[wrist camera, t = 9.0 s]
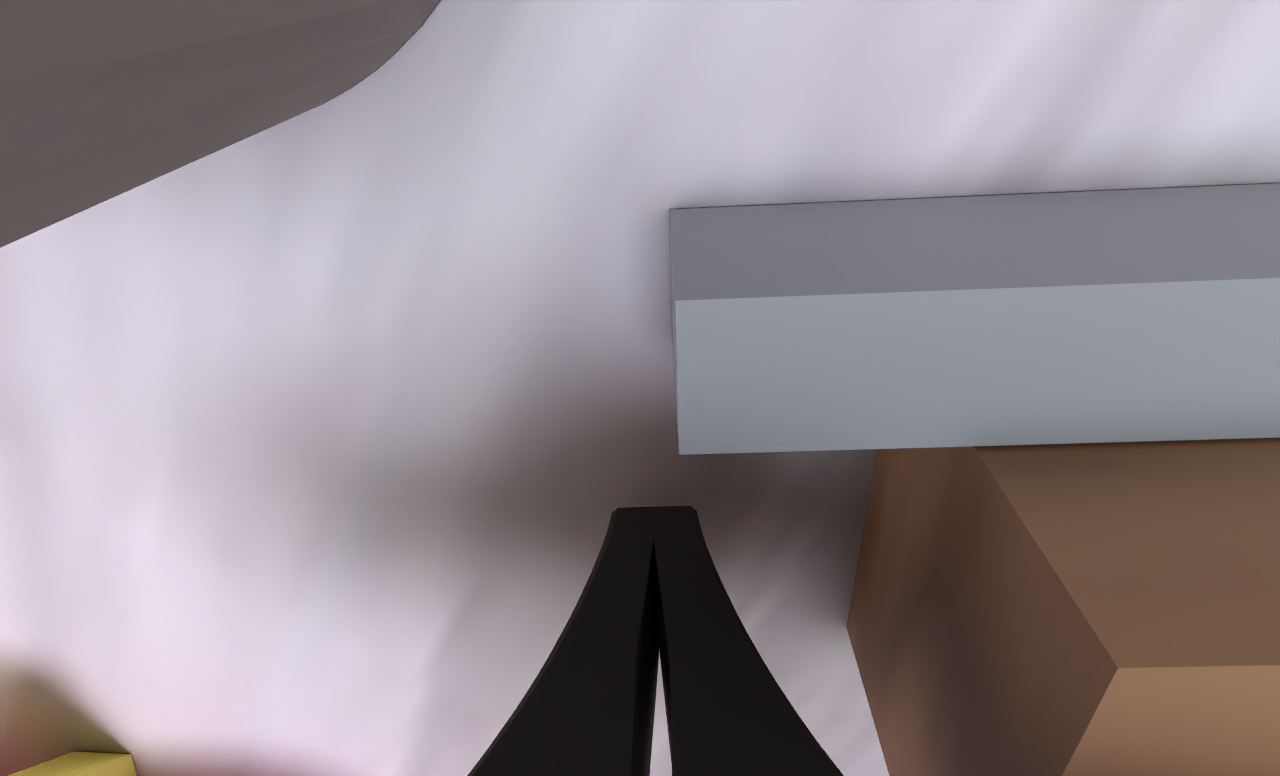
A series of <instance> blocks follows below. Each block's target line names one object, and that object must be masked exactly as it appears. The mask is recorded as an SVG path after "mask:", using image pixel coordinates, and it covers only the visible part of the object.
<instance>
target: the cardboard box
mask: <svg viewBox="0 0 1280 776" xmlns="http://www.w3.org/2000/svg"><path fill="white" fill-rule="evenodd" d="M847 630H848V633H849V637H850V640H851V644H852V647H853V651H854V654H855V657H856V661H857V664H858V668H859V671H860V675H861V678H862V682H863V685H864V689H865V692H866V696H867V699H868V702H869V706H870V709H871V713H872V716H873V720H874V723H875V727H876V730H877V734H878V737H879V741H880V744H881V748H882V751H883V754H884V758H885V761H886V765H887V768H888V772H889V775H890V776H1280V437H1278V438H1243V439H1208V440H1174V441H1139V442H1105V443H1070V444H1036V445H1001V446H967V447H932V448H898V449H877V452H876V458H875V464H874V470H873V476H872V482H871V488H870V494H869V499H868V505H867V511H866V517H865V523H864V529H863V535H862V541H861V546H860V552H859V558H858V564H857V570H856V576H855V582H854V588H853V594H852V599H851V605H850V611H849V617H848V623H847Z"/></svg>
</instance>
